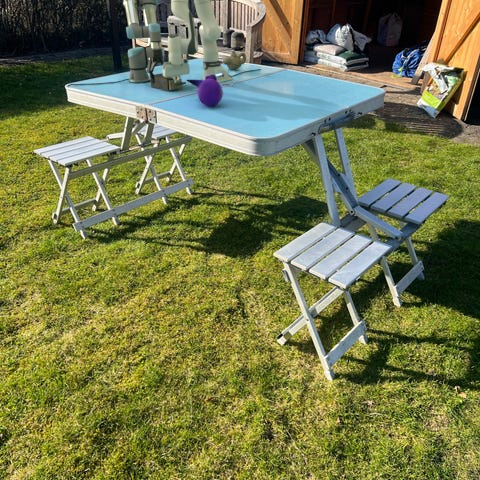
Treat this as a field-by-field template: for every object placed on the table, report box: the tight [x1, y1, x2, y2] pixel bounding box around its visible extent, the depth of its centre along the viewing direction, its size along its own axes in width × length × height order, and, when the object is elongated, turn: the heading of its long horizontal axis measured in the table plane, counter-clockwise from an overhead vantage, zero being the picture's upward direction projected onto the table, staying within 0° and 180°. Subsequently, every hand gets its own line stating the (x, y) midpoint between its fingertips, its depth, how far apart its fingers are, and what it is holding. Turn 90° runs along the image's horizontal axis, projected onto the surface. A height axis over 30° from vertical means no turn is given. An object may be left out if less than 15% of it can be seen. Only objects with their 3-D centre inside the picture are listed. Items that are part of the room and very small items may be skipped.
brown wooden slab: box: [149, 72, 182, 92], centre depth 314 cm, size 20×11×8 cm, turn 44°
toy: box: [185, 75, 224, 107], centre depth 270 cm, size 16×18×27 cm
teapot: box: [222, 50, 247, 71], centre depth 368 cm, size 21×12×15 cm, turn 120°
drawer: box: [168, 77, 187, 91], centre depth 311 cm, size 24×10×6 cm, turn 44°
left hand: (160, 81), depth 319 cm, fingers closed on brown wooden slab, 11 cm apart
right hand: (176, 82), depth 305 cm, fingers closed
